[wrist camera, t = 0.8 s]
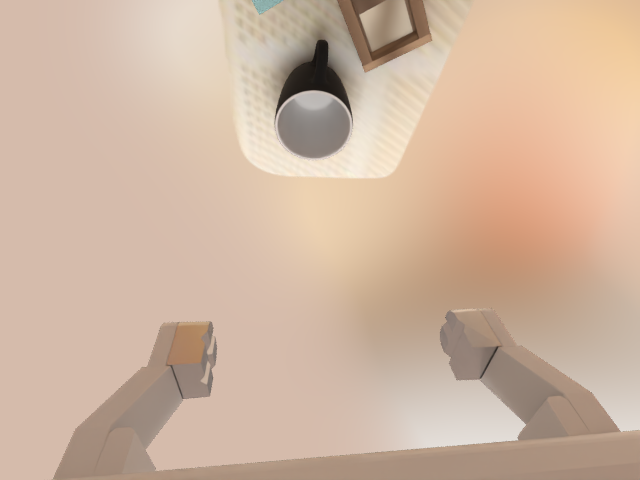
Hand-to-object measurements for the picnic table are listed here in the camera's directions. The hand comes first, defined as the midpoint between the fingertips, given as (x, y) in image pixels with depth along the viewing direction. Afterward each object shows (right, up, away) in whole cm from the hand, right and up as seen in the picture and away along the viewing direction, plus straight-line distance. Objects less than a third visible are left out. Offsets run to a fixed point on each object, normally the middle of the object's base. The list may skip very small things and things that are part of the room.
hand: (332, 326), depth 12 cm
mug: (-1, +24, +34) cm, 42 cm away
